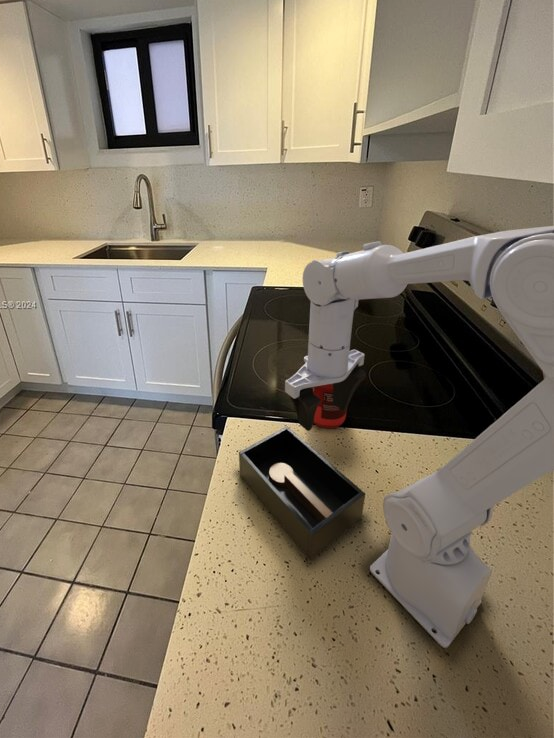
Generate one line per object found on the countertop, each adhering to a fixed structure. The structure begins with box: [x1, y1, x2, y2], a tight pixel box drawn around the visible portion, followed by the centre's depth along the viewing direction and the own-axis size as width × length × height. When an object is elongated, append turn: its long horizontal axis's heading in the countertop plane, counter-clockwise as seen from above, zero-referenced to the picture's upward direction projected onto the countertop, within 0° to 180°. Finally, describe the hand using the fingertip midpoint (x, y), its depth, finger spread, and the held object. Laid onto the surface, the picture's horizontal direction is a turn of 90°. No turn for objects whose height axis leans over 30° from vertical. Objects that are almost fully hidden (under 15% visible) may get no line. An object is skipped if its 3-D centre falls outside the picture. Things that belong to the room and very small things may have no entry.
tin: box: [238, 425, 366, 561], centre depth 53 cm, size 16×10×5 cm, turn 33°
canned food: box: [311, 383, 348, 429], centre depth 68 cm, size 8×8×11 cm
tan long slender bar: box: [269, 463, 332, 523], centre depth 53 cm, size 12×4×2 cm, turn 33°
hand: (323, 416), depth 55 cm, fingers open, 7 cm apart
